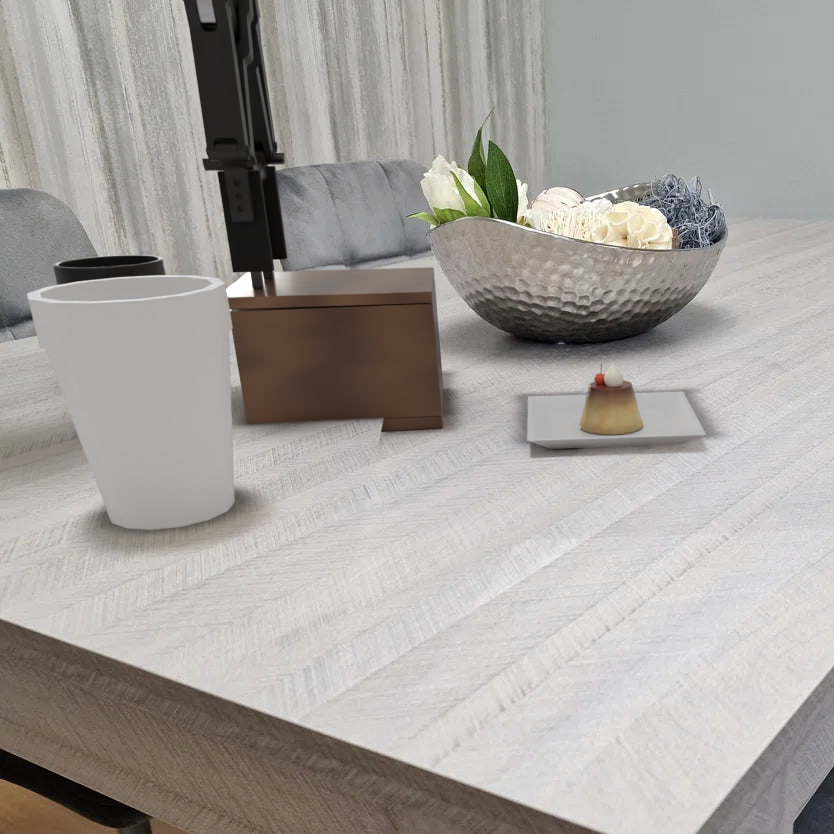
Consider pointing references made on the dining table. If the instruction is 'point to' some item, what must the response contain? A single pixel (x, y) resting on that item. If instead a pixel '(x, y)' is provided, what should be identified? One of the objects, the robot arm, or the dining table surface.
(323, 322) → the basket
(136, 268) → the mug
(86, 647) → the dining table surface
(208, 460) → the foam cup
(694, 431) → the dessert
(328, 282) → the wooden box lid
